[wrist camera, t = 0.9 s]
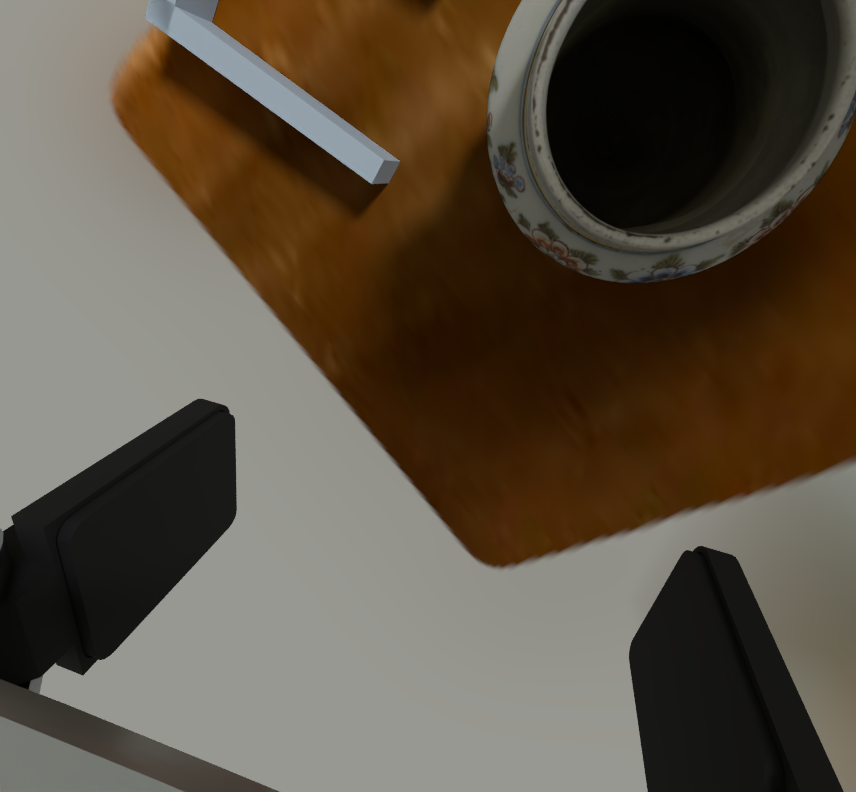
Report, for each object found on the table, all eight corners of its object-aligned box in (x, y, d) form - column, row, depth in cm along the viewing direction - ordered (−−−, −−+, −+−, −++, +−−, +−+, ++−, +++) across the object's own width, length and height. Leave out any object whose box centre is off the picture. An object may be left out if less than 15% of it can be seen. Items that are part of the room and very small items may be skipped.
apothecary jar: (774, 111, 27) (1098, 15, 11) (612, 281, 32) (668, 384, 16) (609, -37, 26) (699, -379, 10) (472, 165, 31) (388, 154, 15)
